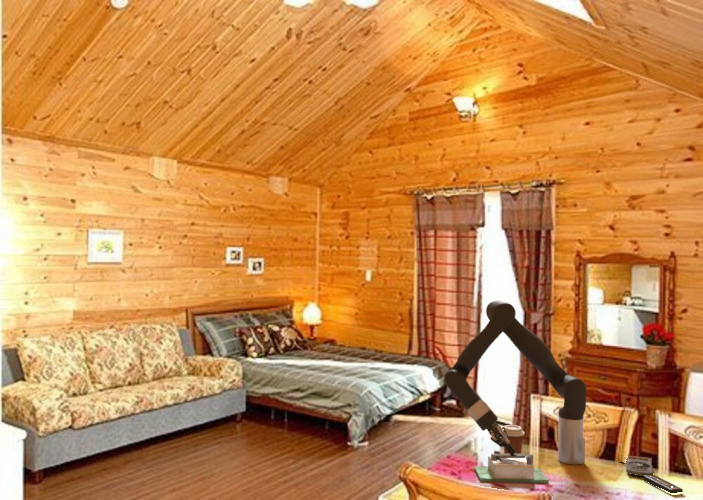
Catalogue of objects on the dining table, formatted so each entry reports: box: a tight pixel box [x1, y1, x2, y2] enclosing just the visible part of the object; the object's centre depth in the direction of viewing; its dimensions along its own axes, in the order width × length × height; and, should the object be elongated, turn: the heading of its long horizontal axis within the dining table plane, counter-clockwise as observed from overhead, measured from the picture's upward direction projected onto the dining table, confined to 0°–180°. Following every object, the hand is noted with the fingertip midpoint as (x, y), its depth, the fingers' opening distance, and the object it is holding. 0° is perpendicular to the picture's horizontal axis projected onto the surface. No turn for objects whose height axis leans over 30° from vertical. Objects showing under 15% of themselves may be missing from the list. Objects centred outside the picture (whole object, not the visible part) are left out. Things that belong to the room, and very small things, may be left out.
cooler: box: [473, 450, 550, 484], centre depth 219 cm, size 24×13×8 cm, turn 88°
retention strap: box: [496, 453, 528, 458], centre depth 219 cm, size 12×3×1 cm, turn 62°
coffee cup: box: [503, 424, 526, 454], centre depth 240 cm, size 9×9×12 cm
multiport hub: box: [642, 474, 684, 493], centre depth 210 cm, size 4×14×2 cm, turn 12°
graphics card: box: [625, 455, 654, 476], centre depth 227 cm, size 17×4×12 cm
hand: (514, 453), depth 218 cm, fingers closed
